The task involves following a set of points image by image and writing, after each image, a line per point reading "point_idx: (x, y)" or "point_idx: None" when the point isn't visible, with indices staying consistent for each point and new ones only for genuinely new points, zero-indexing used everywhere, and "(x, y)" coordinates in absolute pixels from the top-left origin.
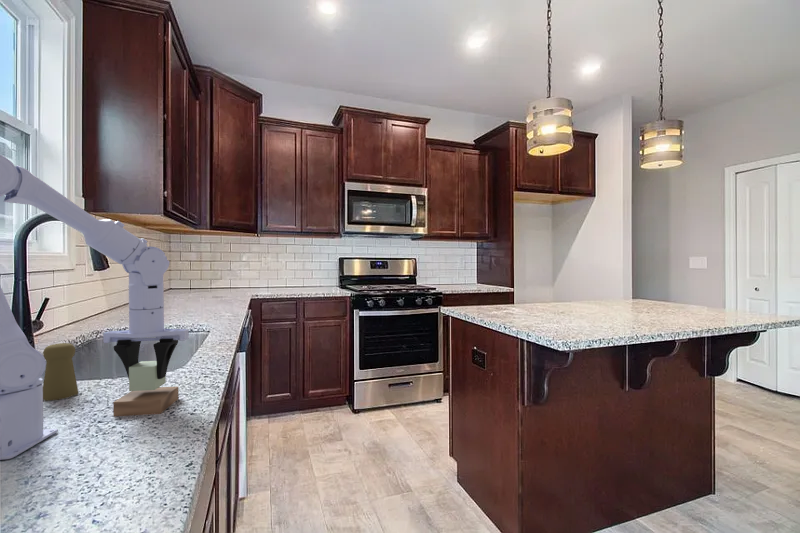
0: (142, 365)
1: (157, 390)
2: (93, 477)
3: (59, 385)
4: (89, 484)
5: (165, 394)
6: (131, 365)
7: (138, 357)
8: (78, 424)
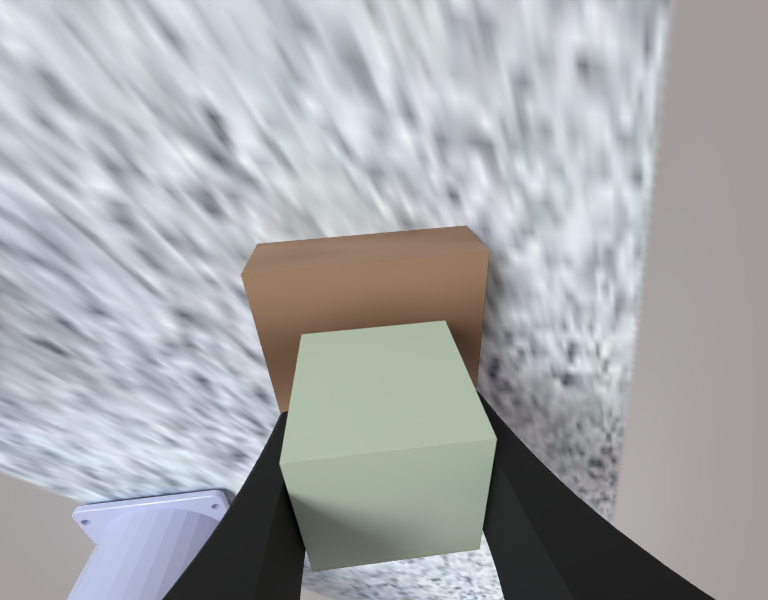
0: (380, 540)
1: (398, 316)
2: (460, 582)
3: None
4: (465, 591)
5: (468, 369)
6: (300, 552)
7: (270, 533)
8: (228, 447)
